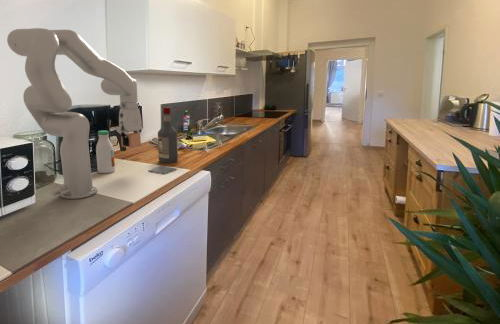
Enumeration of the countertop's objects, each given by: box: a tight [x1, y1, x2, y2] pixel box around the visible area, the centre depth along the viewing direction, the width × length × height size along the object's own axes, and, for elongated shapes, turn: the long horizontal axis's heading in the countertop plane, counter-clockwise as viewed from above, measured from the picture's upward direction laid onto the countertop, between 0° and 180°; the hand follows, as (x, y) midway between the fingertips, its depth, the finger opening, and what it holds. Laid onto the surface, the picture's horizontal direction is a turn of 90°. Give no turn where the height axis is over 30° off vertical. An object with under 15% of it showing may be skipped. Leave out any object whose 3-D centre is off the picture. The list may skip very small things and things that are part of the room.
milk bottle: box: [95, 130, 116, 174], centre depth 148 cm, size 8×8×20 cm
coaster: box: [147, 165, 177, 175], centre depth 155 cm, size 10×10×1 cm
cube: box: [120, 131, 142, 149], centre depth 145 cm, size 6×6×6 cm
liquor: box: [157, 106, 179, 164], centre depth 171 cm, size 9×9×30 cm
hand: (131, 144), depth 146 cm, fingers closed on cube, 6 cm apart
